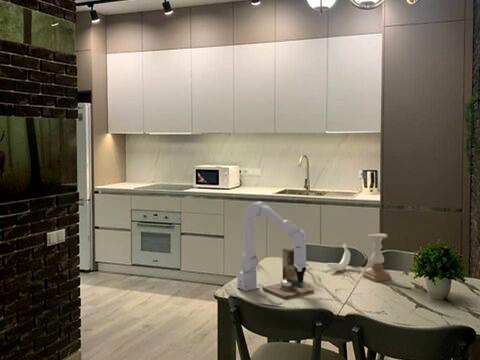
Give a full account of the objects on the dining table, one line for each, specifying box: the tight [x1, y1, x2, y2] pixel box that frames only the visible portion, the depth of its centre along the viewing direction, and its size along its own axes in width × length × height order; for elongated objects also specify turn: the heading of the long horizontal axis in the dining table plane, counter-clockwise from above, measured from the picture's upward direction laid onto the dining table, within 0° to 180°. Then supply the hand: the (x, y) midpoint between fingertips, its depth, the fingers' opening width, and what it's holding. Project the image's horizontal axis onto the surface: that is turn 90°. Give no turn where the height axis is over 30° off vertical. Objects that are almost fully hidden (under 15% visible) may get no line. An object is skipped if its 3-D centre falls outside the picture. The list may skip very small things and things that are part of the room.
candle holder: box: [362, 232, 392, 283], centre depth 279 cm, size 11×11×24 cm
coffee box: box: [281, 248, 298, 280], centre depth 279 cm, size 9×6×16 cm
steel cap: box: [280, 278, 304, 288], centre depth 255 cm, size 12×7×4 cm, turn 43°
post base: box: [262, 282, 315, 300], centre depth 258 cm, size 18×18×2 cm
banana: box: [326, 242, 351, 272], centre depth 296 cm, size 5×19×15 cm, turn 136°
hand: (300, 282), depth 254 cm, fingers closed, pressing on steel cap
